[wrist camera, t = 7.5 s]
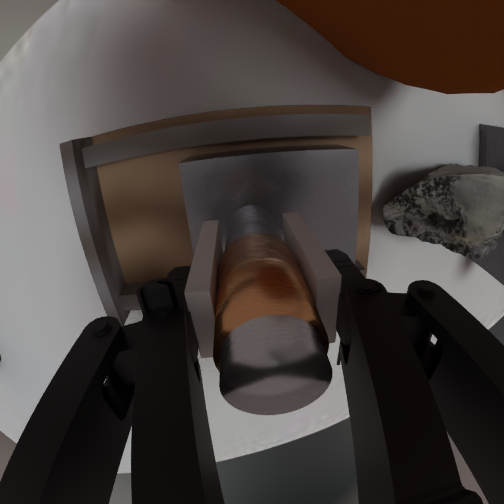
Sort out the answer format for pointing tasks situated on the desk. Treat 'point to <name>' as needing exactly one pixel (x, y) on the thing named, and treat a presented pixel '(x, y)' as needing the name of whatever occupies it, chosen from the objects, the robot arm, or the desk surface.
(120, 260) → the brown shallow box
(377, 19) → the alarm clock
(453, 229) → the stone
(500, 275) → the angle bracket
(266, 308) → the ram
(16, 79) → the desk surface
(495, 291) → the desk surface
